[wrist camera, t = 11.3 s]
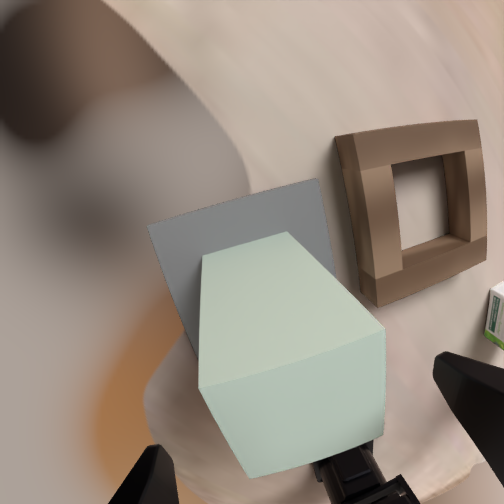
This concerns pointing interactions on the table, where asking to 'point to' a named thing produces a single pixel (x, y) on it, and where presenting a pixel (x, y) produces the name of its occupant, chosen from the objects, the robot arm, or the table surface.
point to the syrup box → (496, 316)
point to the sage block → (287, 357)
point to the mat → (236, 238)
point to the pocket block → (386, 214)
